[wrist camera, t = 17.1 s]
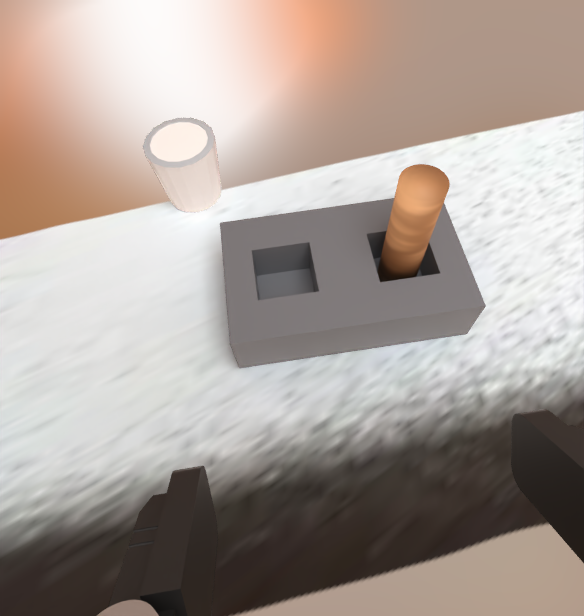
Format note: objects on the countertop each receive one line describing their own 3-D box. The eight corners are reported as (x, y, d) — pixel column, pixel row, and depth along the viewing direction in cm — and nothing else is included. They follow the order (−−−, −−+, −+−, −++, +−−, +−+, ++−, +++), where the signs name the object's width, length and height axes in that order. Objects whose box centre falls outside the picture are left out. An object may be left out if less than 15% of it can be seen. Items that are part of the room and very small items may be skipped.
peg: (381, 297, 40) (406, 203, 30) (372, 266, 42) (393, 167, 32) (418, 292, 40) (456, 197, 30) (408, 262, 42) (440, 161, 32)
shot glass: (179, 227, 47) (158, 177, 41) (154, 185, 50) (132, 133, 44) (238, 200, 48) (226, 148, 42) (210, 161, 51) (196, 107, 45)
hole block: (239, 368, 39) (230, 344, 35) (229, 255, 45) (219, 222, 40) (466, 333, 39) (485, 306, 35) (427, 227, 45) (439, 191, 41)
